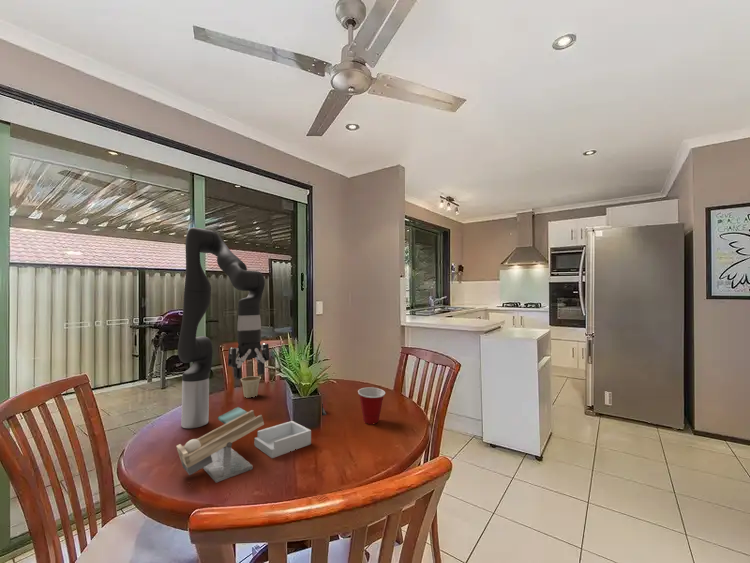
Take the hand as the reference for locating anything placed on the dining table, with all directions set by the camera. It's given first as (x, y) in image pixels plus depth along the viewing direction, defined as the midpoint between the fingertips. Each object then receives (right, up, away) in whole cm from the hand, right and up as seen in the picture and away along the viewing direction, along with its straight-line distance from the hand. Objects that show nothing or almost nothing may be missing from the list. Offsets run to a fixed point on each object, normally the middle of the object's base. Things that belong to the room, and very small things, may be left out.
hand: (249, 376), depth 115 cm
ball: (-8, -13, -22) cm, 27 cm away
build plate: (+19, -24, +29) cm, 42 cm away
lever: (-5, -17, -11) cm, 21 cm away
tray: (+12, -22, -3) cm, 25 cm away
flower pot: (-19, -24, +51) cm, 60 cm away
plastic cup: (+41, -23, +17) cm, 50 cm away
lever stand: (-2, -21, -16) cm, 27 cm away
